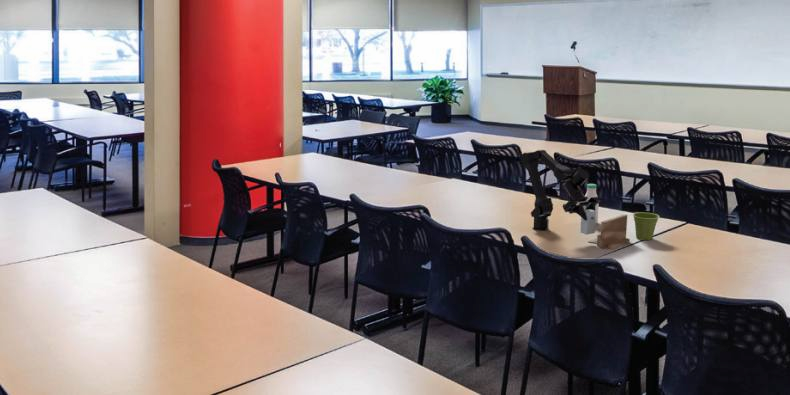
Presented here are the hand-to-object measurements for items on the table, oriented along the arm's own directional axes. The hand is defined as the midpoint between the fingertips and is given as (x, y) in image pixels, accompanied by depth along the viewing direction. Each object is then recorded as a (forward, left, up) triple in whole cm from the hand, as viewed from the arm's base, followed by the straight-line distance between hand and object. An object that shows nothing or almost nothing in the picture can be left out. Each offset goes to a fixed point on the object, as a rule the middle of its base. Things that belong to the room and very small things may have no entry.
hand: (590, 219), depth 329 cm
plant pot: (+22, +20, -12) cm, 32 cm away
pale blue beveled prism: (-1, +1, -7) cm, 7 cm away
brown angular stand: (+7, +6, -11) cm, 15 cm away
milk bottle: (-7, +40, -12) cm, 42 cm away
